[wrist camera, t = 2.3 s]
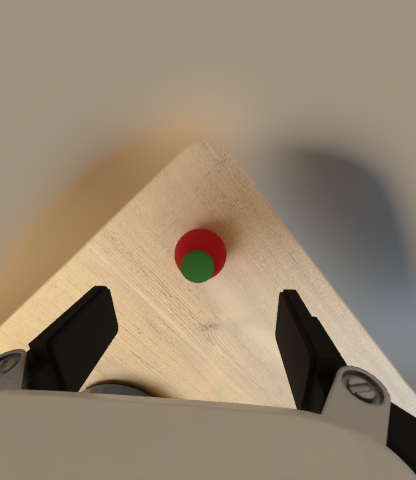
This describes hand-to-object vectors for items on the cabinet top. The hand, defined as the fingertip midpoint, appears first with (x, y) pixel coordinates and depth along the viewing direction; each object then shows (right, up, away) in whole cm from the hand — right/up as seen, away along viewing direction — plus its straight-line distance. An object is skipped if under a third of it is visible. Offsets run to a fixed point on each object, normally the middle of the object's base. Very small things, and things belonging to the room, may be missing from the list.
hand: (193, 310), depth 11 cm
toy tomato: (0, +3, +9) cm, 10 cm away
